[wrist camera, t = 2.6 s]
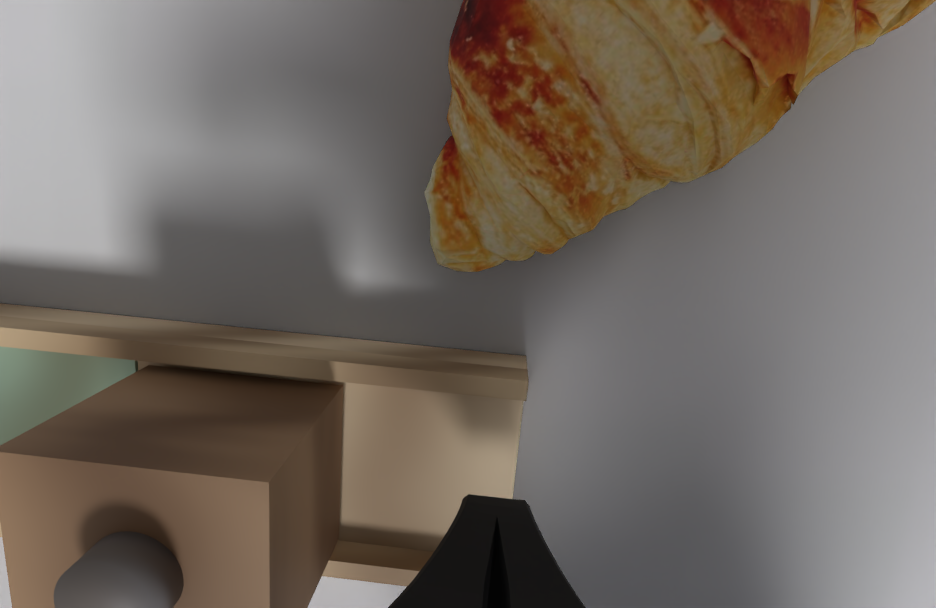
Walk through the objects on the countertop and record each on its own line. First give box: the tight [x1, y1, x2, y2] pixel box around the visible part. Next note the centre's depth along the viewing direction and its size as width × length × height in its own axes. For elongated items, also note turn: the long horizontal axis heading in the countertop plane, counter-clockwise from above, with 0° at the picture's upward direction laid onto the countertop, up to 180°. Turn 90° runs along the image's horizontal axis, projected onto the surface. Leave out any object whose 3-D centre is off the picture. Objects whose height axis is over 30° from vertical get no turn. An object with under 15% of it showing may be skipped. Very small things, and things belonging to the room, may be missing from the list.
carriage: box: [0, 365, 343, 608], centre depth 12 cm, size 5×4×5 cm
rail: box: [0, 303, 528, 586], centre depth 13 cm, size 18×6×5 cm, turn 85°
